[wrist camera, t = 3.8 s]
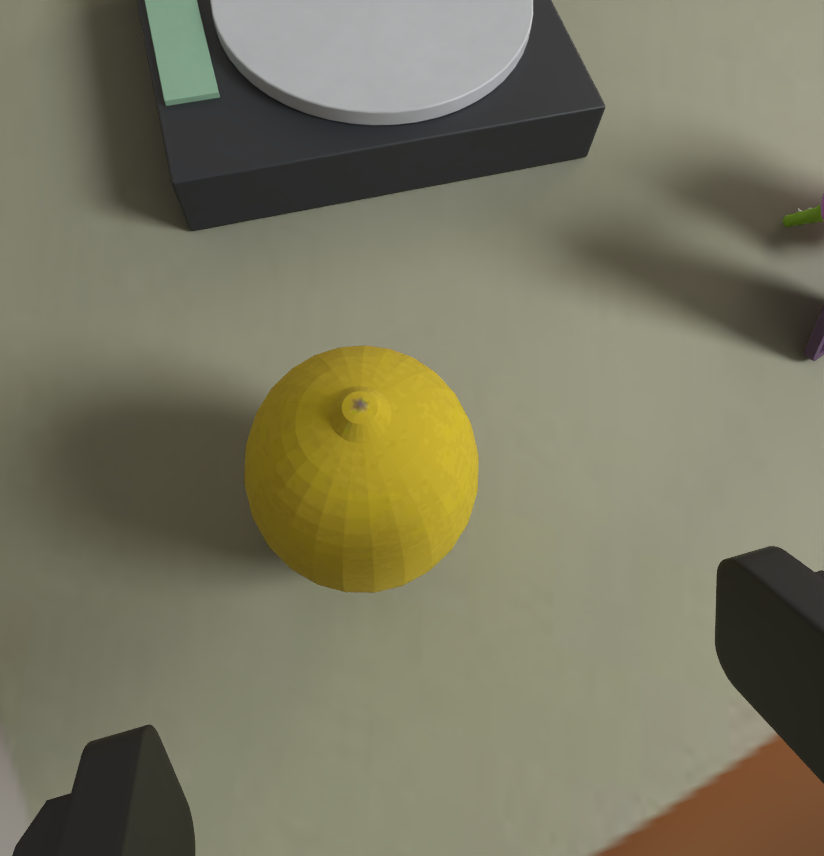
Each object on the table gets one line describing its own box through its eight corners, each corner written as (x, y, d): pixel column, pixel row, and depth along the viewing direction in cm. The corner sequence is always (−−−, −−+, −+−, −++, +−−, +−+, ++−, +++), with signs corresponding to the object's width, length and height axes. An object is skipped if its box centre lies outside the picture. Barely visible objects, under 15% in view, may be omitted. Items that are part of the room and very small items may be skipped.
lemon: (492, 491, 21) (557, 369, 13) (391, 652, 19) (402, 616, 11) (342, 399, 22) (324, 236, 14) (231, 543, 20) (145, 444, 12)
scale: (190, 232, 24) (165, 169, 21) (141, -15, 28) (116, -93, 26) (587, 157, 26) (612, 91, 23) (482, -60, 30) (492, -137, 28)
